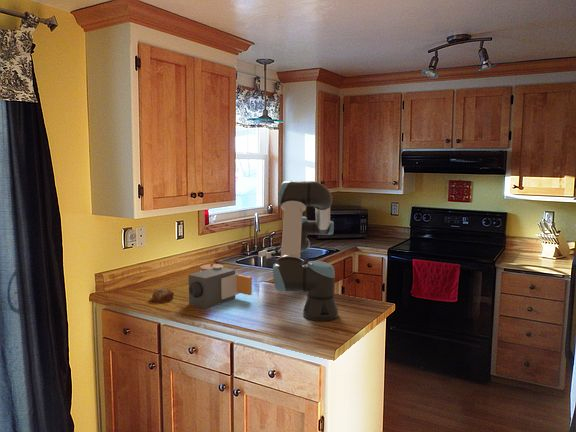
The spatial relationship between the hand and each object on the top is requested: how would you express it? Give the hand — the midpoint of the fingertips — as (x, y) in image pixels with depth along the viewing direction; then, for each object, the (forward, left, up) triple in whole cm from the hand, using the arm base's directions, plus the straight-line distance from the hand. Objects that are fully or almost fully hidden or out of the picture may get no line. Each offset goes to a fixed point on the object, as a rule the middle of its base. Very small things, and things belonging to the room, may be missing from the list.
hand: (262, 255), depth 241 cm
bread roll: (+34, +34, -20) cm, 52 cm away
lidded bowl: (+36, -1, -20) cm, 41 cm away
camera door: (+2, +17, -18) cm, 25 cm away
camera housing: (+13, +23, -20) cm, 33 cm away
